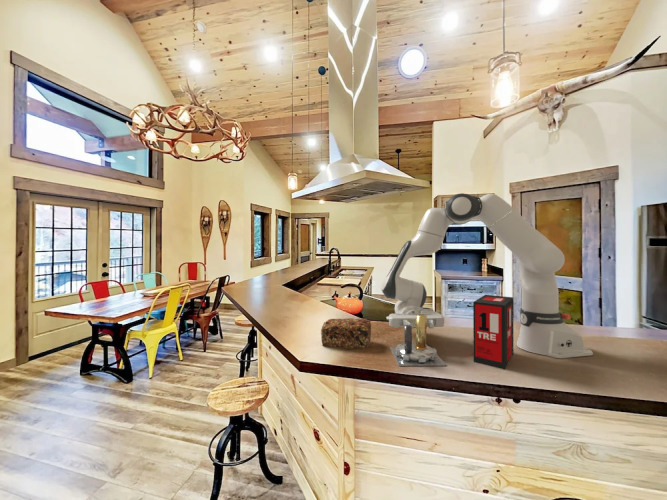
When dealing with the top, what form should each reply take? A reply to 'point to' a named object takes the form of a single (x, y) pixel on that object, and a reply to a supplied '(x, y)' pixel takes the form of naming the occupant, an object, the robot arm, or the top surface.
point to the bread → (346, 333)
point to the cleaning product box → (493, 330)
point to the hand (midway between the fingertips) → (421, 326)
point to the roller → (421, 330)
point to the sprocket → (414, 349)
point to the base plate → (403, 362)
